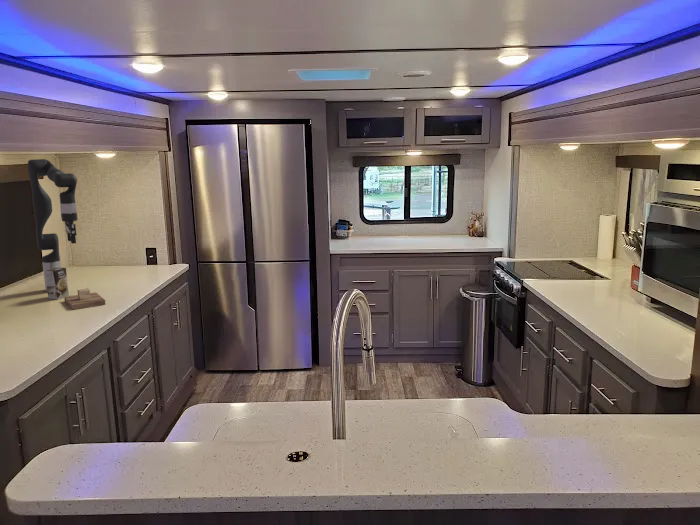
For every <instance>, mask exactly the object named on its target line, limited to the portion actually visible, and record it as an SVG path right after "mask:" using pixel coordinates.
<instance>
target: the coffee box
mask: <svg viewBox="0 0 700 525" xmlns="http://www.w3.org/2000/svg"><path fill="white" fill-rule="evenodd" d="M45 273H46V283H47V291H46V293H47V299H49V300H60V299H64V297H66V296H70V295H69V294H70V293H69V286H68V284H69V283H68V276H67V268H66V267H61V268H53V269H50V270H46V271H45Z"/></svg>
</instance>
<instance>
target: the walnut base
mask: <svg viewBox="0 0 700 525" xmlns="http://www.w3.org/2000/svg"><path fill="white" fill-rule="evenodd" d="M63 299H64V303H66V305H67V306H68V307H69V308H70V309H71V310H73V311H74V310H78V309H79V310H80V309H85V307H86V308H92V307H98V306H103V305H104V306H105V305H106V299H105V298H104V297H102V296H101V295H100V294H99V293H98V292H96V291H95V292H90V299H84V300H80V299H79V298H78V294H74V295H69V296H66V297H63ZM91 306H92V307H91Z"/></svg>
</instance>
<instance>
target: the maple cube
mask: <svg viewBox="0 0 700 525" xmlns="http://www.w3.org/2000/svg"><path fill="white" fill-rule="evenodd" d="M76 291H77V295H78V298H79V299H80V300H84V299H90V293H91V290H90V288H88V287H82V288H77V290H76Z"/></svg>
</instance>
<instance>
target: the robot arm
mask: <svg viewBox="0 0 700 525" xmlns="http://www.w3.org/2000/svg"><path fill="white" fill-rule="evenodd" d="M27 171H28V173H27V174H28V176H29V183H30V188H31V195H32V196H31V197H32V206H33V213H34V222H35V232H36V234H35V235H36V244H37V249H38V250H39V251H50V250H51V252H50V253H48V254H46V255H44V256H42V257H41V262H42V271H43V280H44V281H43V282H44V289H45V292H47V283H46V273H45V271H46V270H50V269H53V268H62V267H61V266H62V264H61V263H62V262H61V256H60V242H59V237H58V234H57V233H53V232H52V233H43V232H44V228H45V226H46V223H47V222H48V220H49V218H50V216H52V213H53V204H52V199H51V197H50V195H49V194H48V193H47V192H46V190H45V189H44V188H43V187H42V186H41V183H40V182H39V178H38V177H47V178H48V180H49V181H52V182H53V184H54V185H55V186H56V187H57V188H67V190H65V191H61V192H60V193H59V202H60V205H59V207H60V217H61V221H62V222H64V226H65V233H66V235H67V236H66V237H67V241H68V242H70V243H71V244H72V245H73V244H76V243H77V238H76V237H77V235H78V234H77V228H76V223H74V222H77V221H78V213H77V211H78V210H77V204H76V197H75V196H76V195H75V194H76V188H77V183H78V178H77V176H76V175H75V174H74V173H69V172H68V173H65V172H64V171H63V170H60V169H58V168H57V167H56V166H55V165H54V164H53V163H52V162H51V161H50V160H48V159H46V158H42V159H41V158H39V159H36V158H35V159H29V160H28V161H27Z"/></svg>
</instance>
